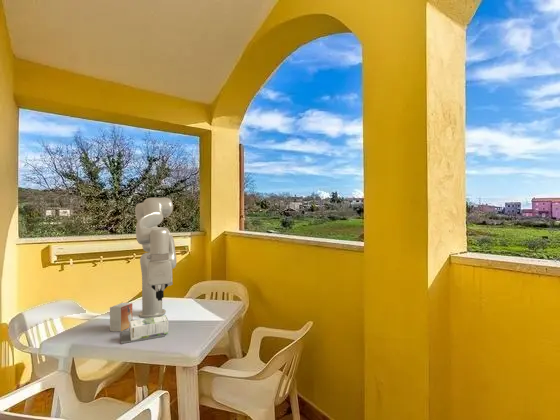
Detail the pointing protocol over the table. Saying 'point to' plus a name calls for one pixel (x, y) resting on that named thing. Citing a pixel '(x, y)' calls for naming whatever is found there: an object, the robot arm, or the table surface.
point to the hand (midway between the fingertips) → (159, 299)
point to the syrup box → (148, 327)
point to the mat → (126, 339)
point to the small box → (120, 316)
